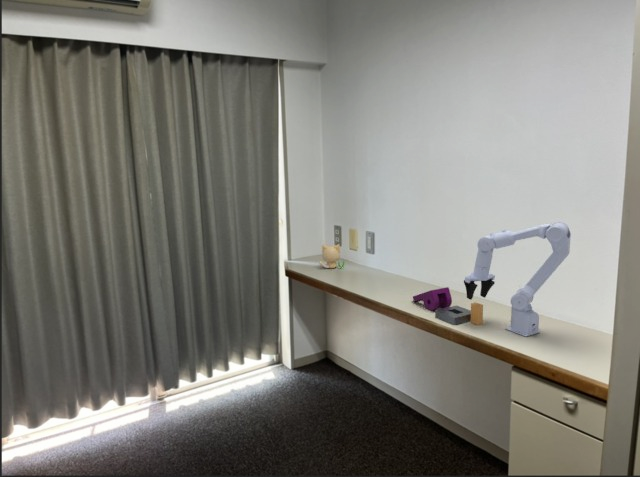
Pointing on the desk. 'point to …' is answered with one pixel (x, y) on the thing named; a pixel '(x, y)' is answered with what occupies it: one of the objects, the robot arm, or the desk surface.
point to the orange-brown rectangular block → (476, 313)
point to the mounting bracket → (435, 298)
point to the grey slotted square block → (454, 315)
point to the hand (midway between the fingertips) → (476, 297)
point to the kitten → (331, 256)
